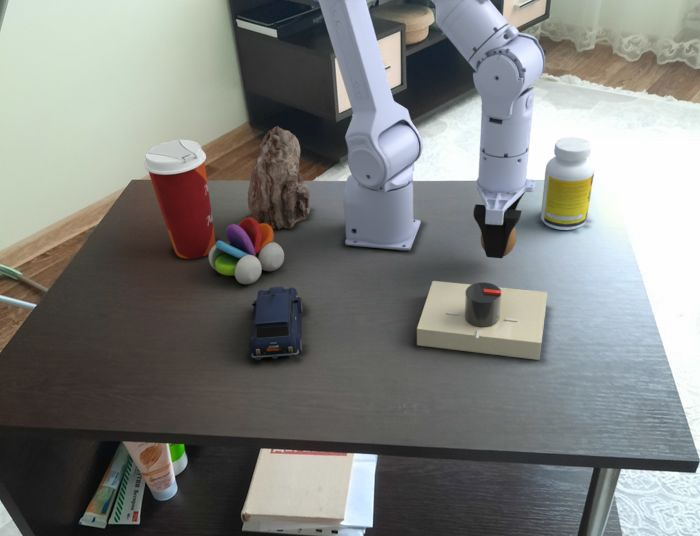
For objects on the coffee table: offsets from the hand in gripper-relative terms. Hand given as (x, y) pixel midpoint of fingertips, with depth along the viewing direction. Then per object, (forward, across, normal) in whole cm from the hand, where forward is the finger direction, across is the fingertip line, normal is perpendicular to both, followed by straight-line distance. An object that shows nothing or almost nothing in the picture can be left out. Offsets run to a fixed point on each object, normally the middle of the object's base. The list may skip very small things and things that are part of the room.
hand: (497, 246), depth 95 cm
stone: (+3, +7, +33) cm, 34 cm away
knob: (+1, -15, 0) cm, 15 cm away
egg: (+2, 0, 0) cm, 2 cm away
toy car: (+3, -19, +24) cm, 31 cm away
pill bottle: (+3, +14, -8) cm, 16 cm away
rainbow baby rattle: (+3, -6, +33) cm, 34 cm away
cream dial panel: (+3, -13, 0) cm, 13 cm away
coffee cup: (+3, -2, +43) cm, 43 cm away
